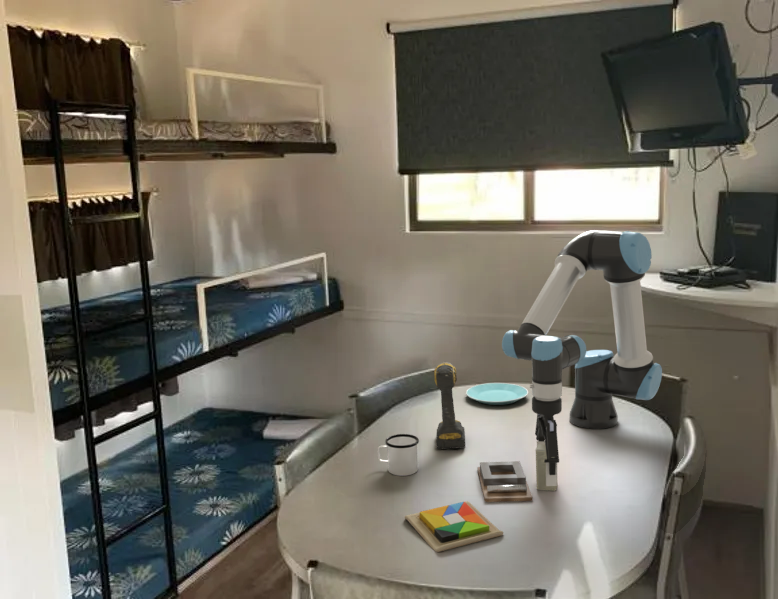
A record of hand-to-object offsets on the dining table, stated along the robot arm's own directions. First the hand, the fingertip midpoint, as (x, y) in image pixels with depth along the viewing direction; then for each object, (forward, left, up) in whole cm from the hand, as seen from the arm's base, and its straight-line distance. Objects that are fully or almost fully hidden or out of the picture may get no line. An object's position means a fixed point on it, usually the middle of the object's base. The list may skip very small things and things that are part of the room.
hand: (546, 474), depth 202 cm
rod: (+11, +4, -3) cm, 12 cm away
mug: (+39, -14, -4) cm, 42 cm away
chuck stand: (+11, -2, -3) cm, 12 cm away
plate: (+4, -76, -4) cm, 76 cm away
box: (0, 0, -4) cm, 4 cm away
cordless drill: (+23, -36, -4) cm, 43 cm away
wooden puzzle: (+26, +21, -4) cm, 34 cm away
